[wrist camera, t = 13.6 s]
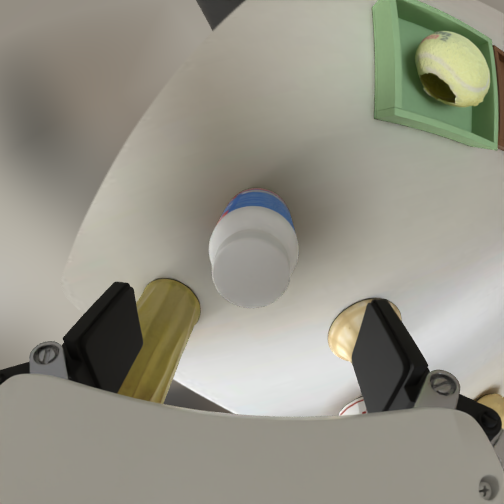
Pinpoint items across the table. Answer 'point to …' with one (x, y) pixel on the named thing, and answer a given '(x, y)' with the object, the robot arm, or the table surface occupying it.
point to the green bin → (409, 84)
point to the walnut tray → (500, 93)
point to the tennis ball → (452, 69)
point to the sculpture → (494, 404)
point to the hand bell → (349, 329)
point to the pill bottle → (253, 249)
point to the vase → (161, 338)
